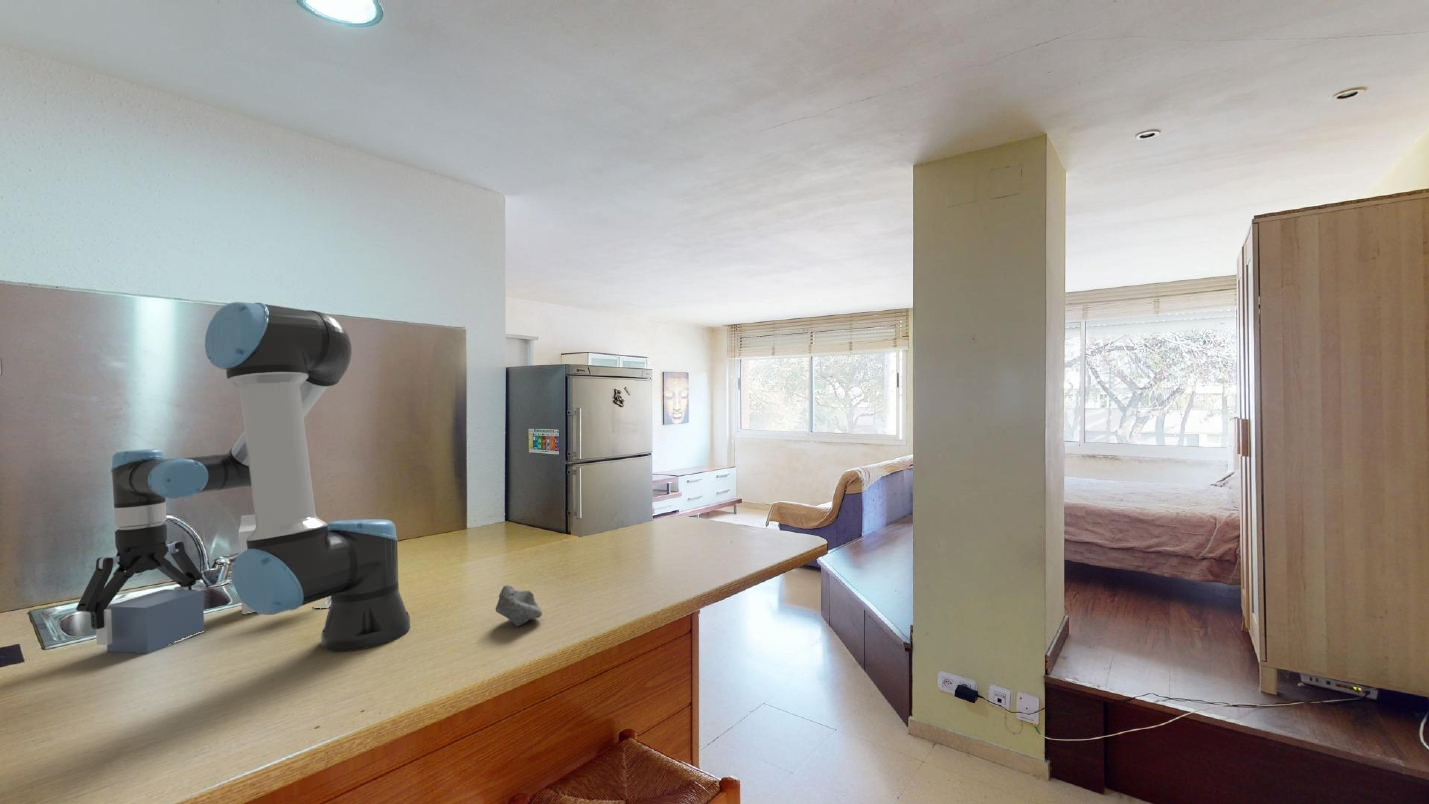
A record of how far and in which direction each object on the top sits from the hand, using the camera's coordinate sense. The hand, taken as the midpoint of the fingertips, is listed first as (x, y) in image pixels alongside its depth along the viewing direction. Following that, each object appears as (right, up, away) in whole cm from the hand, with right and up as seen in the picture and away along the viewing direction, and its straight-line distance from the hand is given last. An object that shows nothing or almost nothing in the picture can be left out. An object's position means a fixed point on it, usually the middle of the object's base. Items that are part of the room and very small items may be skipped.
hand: (145, 630), depth 118 cm
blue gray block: (+3, -2, -1) cm, 4 cm away
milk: (+10, -2, +17) cm, 20 cm away
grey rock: (+76, +1, +1) cm, 76 cm away
